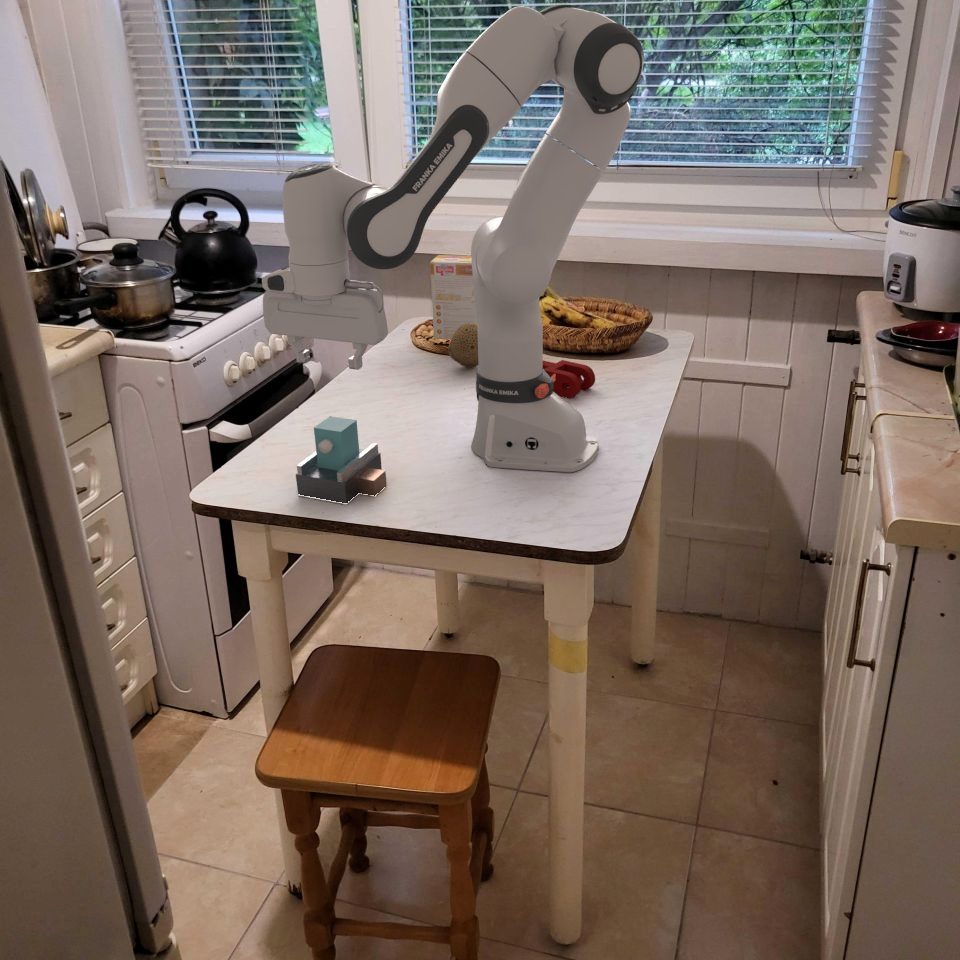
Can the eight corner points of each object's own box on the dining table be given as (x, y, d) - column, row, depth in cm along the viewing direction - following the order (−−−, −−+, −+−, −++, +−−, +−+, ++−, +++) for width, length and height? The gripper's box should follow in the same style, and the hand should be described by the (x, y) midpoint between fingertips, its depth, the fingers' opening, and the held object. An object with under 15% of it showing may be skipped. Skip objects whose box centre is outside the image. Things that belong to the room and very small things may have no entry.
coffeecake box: (502, 338, 229) (501, 255, 220) (496, 348, 223) (494, 263, 214) (441, 335, 232) (437, 253, 224) (433, 344, 226) (429, 261, 218)
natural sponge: (496, 373, 208) (495, 328, 203) (455, 377, 206) (453, 332, 202) (486, 360, 216) (484, 316, 211) (446, 364, 214) (444, 320, 209)
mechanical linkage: (594, 390, 198) (595, 367, 196) (575, 401, 193) (576, 377, 191) (530, 375, 207) (530, 353, 205) (510, 385, 202) (510, 362, 200)
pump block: (359, 459, 161) (356, 420, 158) (340, 475, 156) (336, 435, 153) (333, 454, 163) (329, 416, 160) (313, 470, 157) (308, 431, 154)
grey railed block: (397, 476, 164) (395, 446, 161) (363, 508, 154) (360, 476, 152) (335, 466, 168) (332, 436, 166) (298, 496, 158) (294, 465, 156)
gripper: (391, 277, 145) (397, 365, 151) (275, 268, 153) (286, 352, 159) (371, 288, 140) (378, 379, 146) (252, 278, 147) (264, 364, 153)
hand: (329, 365), depth 152 cm, fingers open, 8 cm apart
